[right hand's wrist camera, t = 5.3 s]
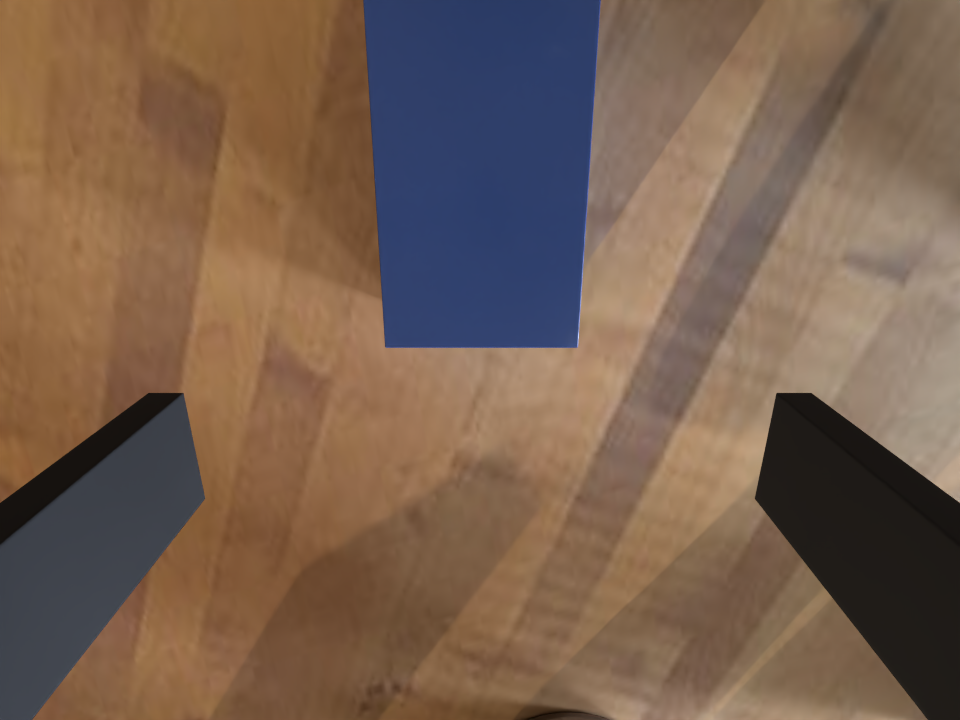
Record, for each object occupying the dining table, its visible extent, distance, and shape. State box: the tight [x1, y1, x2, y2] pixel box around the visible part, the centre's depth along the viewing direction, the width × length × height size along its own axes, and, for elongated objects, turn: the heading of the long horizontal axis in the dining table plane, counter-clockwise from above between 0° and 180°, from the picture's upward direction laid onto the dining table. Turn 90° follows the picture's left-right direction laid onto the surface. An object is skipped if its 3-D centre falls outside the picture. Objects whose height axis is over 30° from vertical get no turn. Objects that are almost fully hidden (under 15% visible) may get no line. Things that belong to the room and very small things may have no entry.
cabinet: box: [363, 0, 601, 348], centre depth 31 cm, size 17×10×8 cm, turn 0°
